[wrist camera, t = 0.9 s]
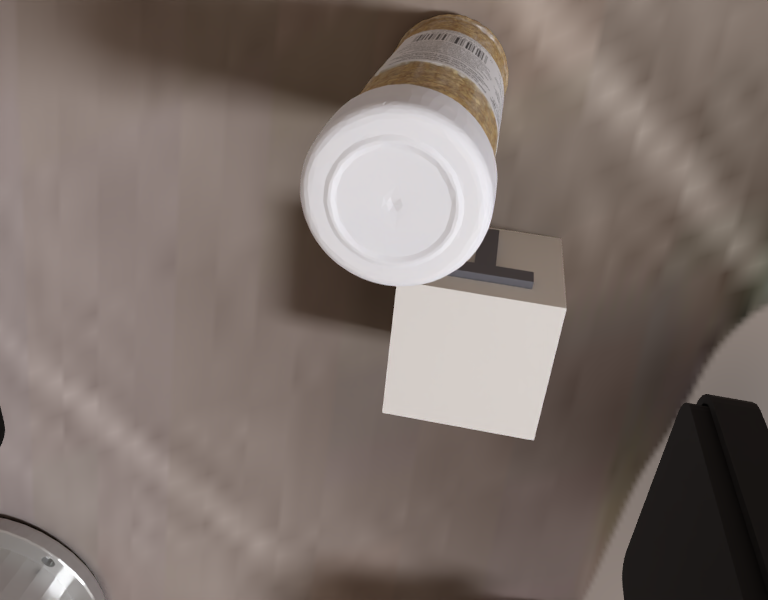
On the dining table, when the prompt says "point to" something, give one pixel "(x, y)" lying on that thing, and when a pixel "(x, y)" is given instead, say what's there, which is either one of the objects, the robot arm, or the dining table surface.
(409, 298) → the lettered cube
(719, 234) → the dining table surface
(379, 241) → the sprinkles bottle
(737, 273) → the dining table surface
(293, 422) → the dining table surface
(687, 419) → the robot arm
